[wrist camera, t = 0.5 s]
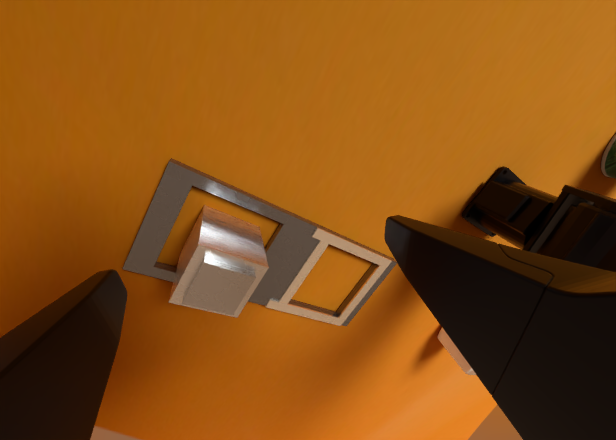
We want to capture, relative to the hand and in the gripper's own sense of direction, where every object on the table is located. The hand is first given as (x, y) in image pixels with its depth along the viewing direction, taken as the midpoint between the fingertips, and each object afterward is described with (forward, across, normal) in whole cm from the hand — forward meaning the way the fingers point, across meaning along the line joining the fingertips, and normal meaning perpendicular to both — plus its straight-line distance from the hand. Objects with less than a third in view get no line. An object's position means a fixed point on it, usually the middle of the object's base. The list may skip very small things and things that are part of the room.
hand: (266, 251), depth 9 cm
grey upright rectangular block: (+14, +3, +8) cm, 16 cm away
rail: (+14, -2, +11) cm, 18 cm away
